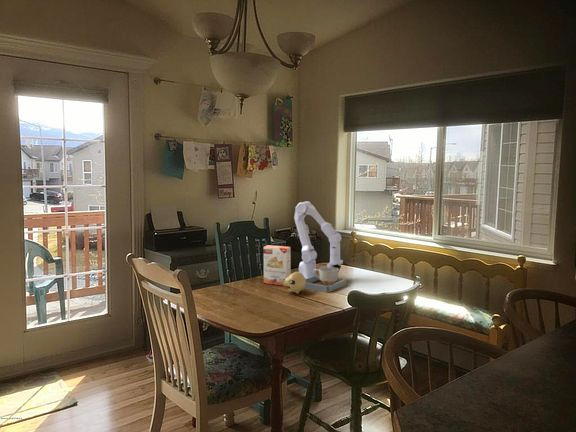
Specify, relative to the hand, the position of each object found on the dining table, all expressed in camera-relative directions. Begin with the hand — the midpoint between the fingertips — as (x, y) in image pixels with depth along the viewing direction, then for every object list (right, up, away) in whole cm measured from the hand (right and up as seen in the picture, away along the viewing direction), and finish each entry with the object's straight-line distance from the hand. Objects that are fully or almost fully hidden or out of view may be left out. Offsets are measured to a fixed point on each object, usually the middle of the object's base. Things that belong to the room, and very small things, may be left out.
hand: (335, 277), depth 261 cm
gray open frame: (-8, -2, -13) cm, 16 cm away
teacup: (-6, -2, -6) cm, 9 cm away
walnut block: (-6, -3, -21) cm, 22 cm away
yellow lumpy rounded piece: (-23, -4, -27) cm, 36 cm away
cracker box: (-33, -2, -9) cm, 34 cm away
